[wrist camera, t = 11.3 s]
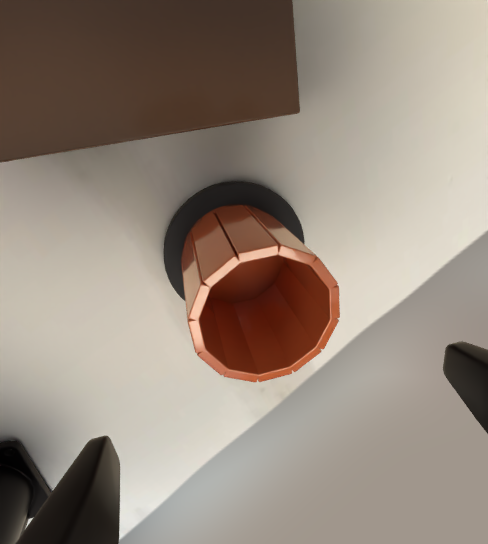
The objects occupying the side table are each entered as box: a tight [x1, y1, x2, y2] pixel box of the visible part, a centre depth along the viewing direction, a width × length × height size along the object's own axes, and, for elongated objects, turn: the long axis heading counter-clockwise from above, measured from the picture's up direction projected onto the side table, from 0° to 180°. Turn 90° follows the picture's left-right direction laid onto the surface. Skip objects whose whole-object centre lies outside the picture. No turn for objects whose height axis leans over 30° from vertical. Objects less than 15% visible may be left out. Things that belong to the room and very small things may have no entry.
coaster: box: [164, 181, 304, 301], centre depth 19 cm, size 8×8×1 cm
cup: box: [181, 204, 340, 382], centre depth 16 cm, size 6×6×6 cm
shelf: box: [0, 0, 300, 162], centre depth 12 cm, size 9×12×4 cm
